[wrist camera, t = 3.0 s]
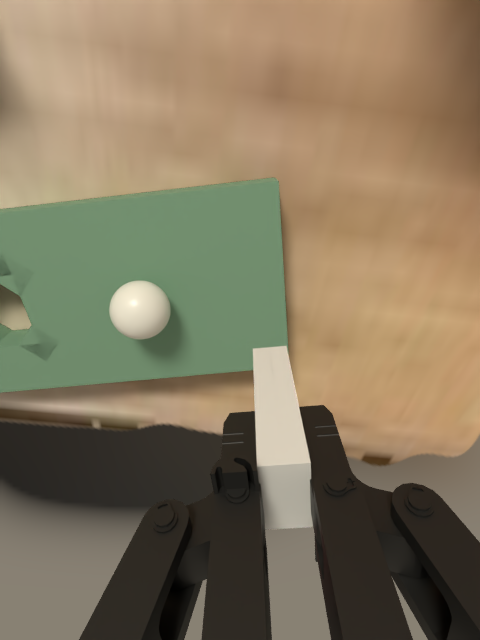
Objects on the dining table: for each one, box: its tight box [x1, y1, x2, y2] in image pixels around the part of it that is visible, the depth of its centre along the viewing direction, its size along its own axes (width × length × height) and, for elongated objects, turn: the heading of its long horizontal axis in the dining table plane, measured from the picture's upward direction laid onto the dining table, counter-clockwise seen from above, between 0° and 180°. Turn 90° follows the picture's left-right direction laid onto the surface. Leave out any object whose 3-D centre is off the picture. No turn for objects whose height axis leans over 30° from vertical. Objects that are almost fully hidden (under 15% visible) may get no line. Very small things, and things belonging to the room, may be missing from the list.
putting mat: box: [0, 178, 289, 393], centre depth 28 cm, size 28×14×3 cm, turn 96°
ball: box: [109, 280, 170, 339], centre depth 24 cm, size 4×4×4 cm
